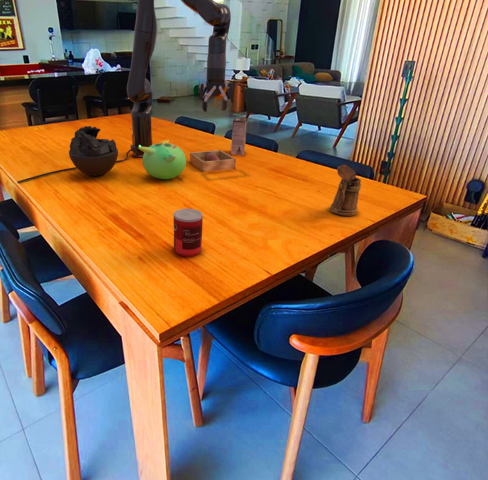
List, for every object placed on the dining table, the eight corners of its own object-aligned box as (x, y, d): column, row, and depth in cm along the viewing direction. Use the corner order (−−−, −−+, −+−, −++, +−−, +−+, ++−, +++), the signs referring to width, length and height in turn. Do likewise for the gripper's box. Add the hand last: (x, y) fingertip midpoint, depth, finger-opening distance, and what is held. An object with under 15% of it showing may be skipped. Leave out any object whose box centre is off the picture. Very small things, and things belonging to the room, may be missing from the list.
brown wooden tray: (202, 173, 167) (203, 162, 164) (189, 162, 180) (189, 152, 177) (235, 169, 172) (236, 159, 169) (220, 160, 184) (220, 150, 182)
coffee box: (232, 151, 198) (234, 117, 189) (244, 151, 197) (247, 117, 188) (230, 155, 191) (232, 120, 182) (243, 156, 190) (246, 121, 181)
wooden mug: (319, 215, 129) (331, 160, 119) (336, 204, 138) (348, 152, 127) (345, 222, 125) (359, 166, 114) (360, 210, 133) (375, 157, 123)
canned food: (184, 242, 112) (184, 206, 106) (207, 249, 109) (208, 212, 102) (168, 252, 107) (167, 214, 101) (191, 260, 103) (192, 222, 97)
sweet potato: (221, 167, 172) (222, 157, 169) (212, 168, 170) (212, 158, 168) (211, 161, 180) (212, 151, 178) (202, 162, 179) (203, 151, 176)
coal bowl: (102, 165, 175) (97, 120, 165) (129, 175, 164) (125, 127, 153) (63, 174, 164) (55, 127, 153) (89, 185, 152) (82, 135, 141)
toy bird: (191, 174, 165) (191, 138, 156) (177, 187, 152) (177, 148, 143) (152, 170, 169) (151, 135, 161) (136, 182, 156) (133, 144, 148)
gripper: (228, 65, 158) (225, 108, 167) (196, 65, 154) (195, 110, 163) (236, 66, 152) (233, 111, 162) (203, 67, 148) (202, 113, 158)
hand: (214, 110), depth 162 cm, fingers open, 8 cm apart
